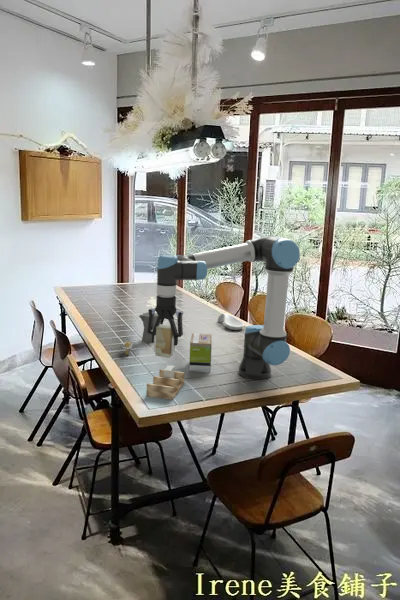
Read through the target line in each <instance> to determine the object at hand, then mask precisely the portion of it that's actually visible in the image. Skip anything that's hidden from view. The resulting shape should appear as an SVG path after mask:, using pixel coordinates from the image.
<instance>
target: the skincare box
mask: <svg viewBox="0 0 400 600" xmlns="http://www.w3.org/2000/svg"><path fill="white" fill-rule="evenodd" d="M172 337H173V332H172V328H171V326H170V324H164V323H163V324H160V325H159V326H157V327H156V352H154V354H155V357H161V358H167V359H170V358H171V357H173V356H174V354H171V348H172Z"/></svg>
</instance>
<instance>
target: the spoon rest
mask: <svg viewBox="0 0 400 600" xmlns="http://www.w3.org/2000/svg"><path fill="white" fill-rule="evenodd" d="M222 322H224V325H225V326H226V328H227V329H229V330H231V331H239V330H242V329H243V328H244V326H245V324H244V323H243V322H242V321H240V320H239V319H237V318H236V317H235V316H232V315H231V314H229V313H221V314H219V316H218V317H217V323H222Z"/></svg>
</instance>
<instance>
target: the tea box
mask: <svg viewBox="0 0 400 600" xmlns="http://www.w3.org/2000/svg"><path fill="white" fill-rule="evenodd" d="M190 337H191V338H190V343H189V366H188V367H189V371H190V372H197V373H205V374H206V373H207V374H210V373H211V366H212V345H213V344H212V342H213V341H212V333H211V334H210V333H191V336H190Z"/></svg>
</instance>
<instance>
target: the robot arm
mask: <svg viewBox="0 0 400 600" xmlns="http://www.w3.org/2000/svg"><path fill="white" fill-rule="evenodd" d="M300 253H301V252H300V248H299V246H298V245H297V243H296V242H295V241H294V240H291V239H288V238H285V237H280V236H275V235H267V236H266V235H265V236H262V237H257V238H253V239H249V240H246V241H245V242H244V243H241V244H236V245H232V246H231V245H230V246H225V247H221V248H215V249H211V250H206V251H200V252H196V253H190V254H186V255H183V254H177V255H174V254H173V255H172V254H163V255H162V254H160V255H159V256H158V257H157V266H156V274H157V275H156V276H157V277H156V279H157V280H156V306H155V307H154V308H153V307H151V308H149V309H148V311H147V312H149V322H148V331H147V332H148V333H150V334H151V335H152V343H151V344H153V352H154V353H155V352H156V327H157V326H159V325H160V322H161V320H162V319H164V320H167V321H168V322H169V326H171V328H172V332H173V337H172V348H171V354H173V355H174V354H175V352H176V346H177V345H178V344H179V338H181V337H182V336H183V335H184V331H183V330H184V329H183V328H184V327H183V315H184V311H182V310H181V311H179V310H178V309H177V307H176V306H177V305H176V304H177V296H176V295H177V281H200V280H205V279H206V278H207V275H208V270H209V269H210V270H211V269H213V268H219V267H223V266H228V265H229V266H230V265H233V264H237V263H243V262H250V263H254V262H264V270H265V271H266V272H267V281H266V282H267V283H266V284H267V285H266V295H265V306H264V307H265V308H264V315H263V317H264V319H263V324H253V325H247V326H246V327H245V329H244V340H243V342H244V343H243V353H242V354H243V355H242V359H241V360H240V363H239V365H238V374H239V376H241V377H243V378H246V379H250V380H251V379H252V380H265V379H268V378H270V377H271V376H272V368H271V366H279V365H281V364H283V363H284V362H285V361H287V360H288V358H289V356H290V354H291V348H290V345H289V343H288V342H287V332H286V331H285V330H284V326H285V318H286V309H287V297H288V287H289V276H290V274H292V273H293V272H294V267H295V266H296V264H298V263H299V260H300ZM154 313H157V314H158V318H157V321H156V324H155V326H154V329H153V330H152V328H153V320H154ZM175 314H176V317H177V324H176V323H175V317H174V316H175ZM176 325H177V326H176Z"/></svg>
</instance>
